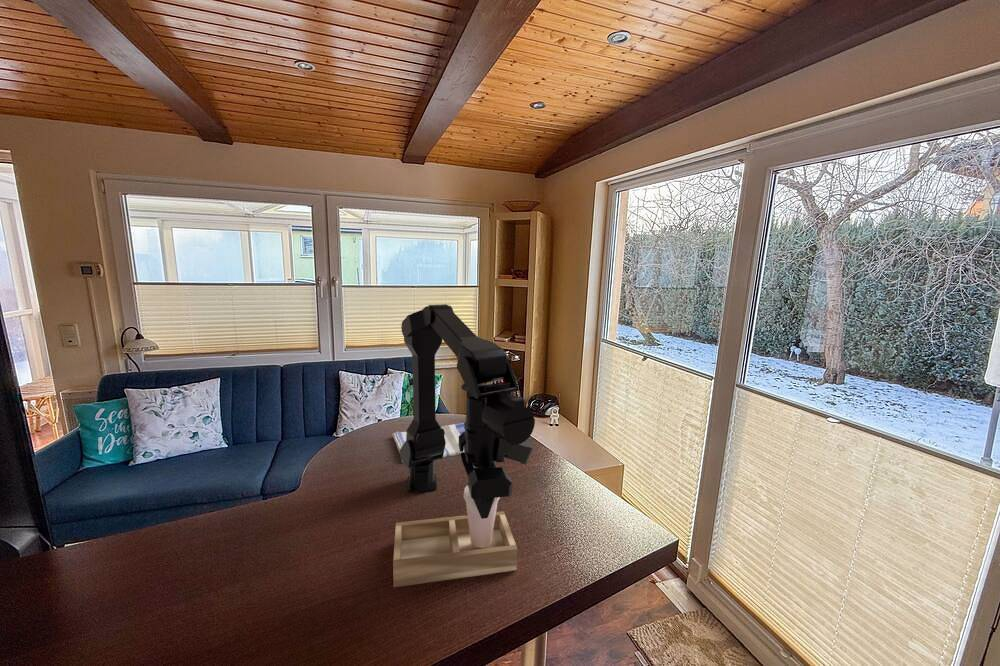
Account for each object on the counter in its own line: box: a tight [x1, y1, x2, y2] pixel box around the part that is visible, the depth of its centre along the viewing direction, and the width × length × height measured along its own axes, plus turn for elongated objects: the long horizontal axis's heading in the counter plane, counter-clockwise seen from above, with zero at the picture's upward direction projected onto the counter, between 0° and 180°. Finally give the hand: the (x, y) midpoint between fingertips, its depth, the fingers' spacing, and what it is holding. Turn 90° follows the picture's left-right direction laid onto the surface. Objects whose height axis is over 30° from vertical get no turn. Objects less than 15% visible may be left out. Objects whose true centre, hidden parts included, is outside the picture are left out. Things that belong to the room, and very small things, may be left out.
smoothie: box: [463, 484, 501, 548], centre depth 70 cm, size 6×6×14 cm
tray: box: [392, 511, 518, 588], centre depth 70 cm, size 10×20×4 cm, turn 102°
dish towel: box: [391, 422, 465, 464], centre depth 114 cm, size 17×24×3 cm
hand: (481, 506), depth 70 cm, fingers closed on smoothie, 6 cm apart
